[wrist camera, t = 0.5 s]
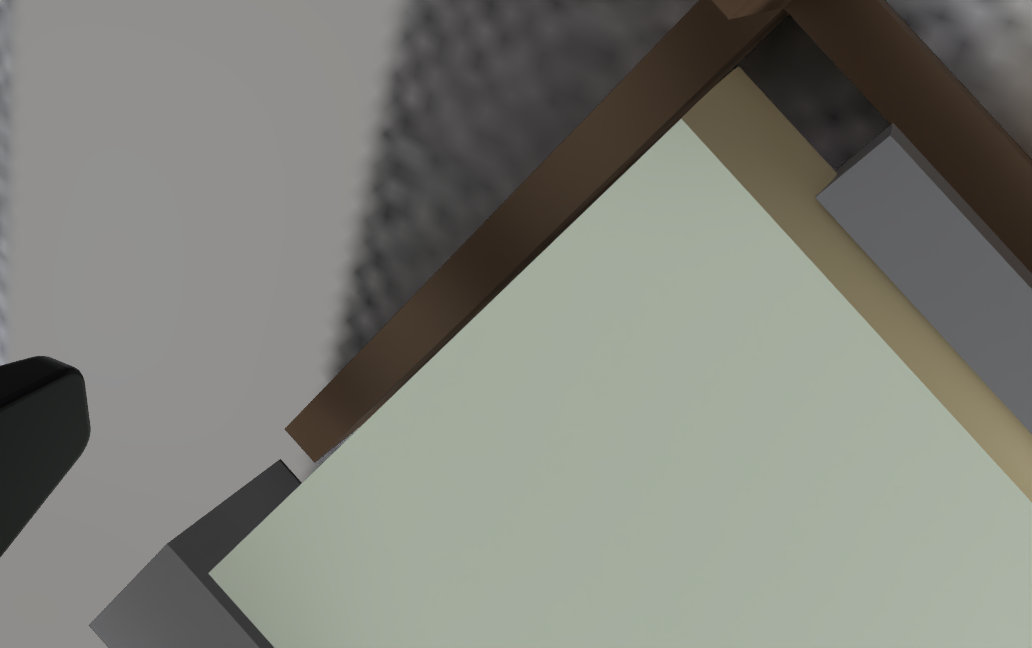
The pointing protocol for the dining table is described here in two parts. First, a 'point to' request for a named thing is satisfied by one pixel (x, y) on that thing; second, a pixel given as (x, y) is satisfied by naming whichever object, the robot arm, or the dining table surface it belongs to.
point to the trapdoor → (696, 427)
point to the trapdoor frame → (639, 125)
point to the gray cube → (195, 579)
